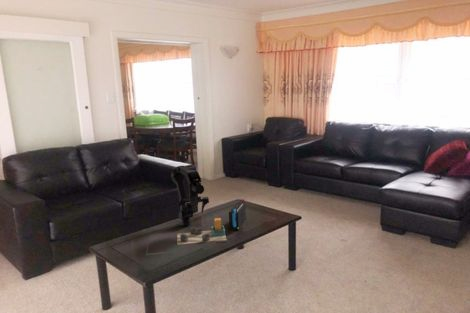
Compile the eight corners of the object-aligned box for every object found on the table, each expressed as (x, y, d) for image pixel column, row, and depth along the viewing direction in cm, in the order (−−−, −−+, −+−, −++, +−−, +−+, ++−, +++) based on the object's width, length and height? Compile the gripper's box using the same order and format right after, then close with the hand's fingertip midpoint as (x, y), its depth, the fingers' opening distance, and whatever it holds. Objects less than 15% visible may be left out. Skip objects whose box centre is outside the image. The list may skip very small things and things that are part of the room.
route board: (177, 235, 237) (176, 227, 236) (223, 230, 241) (223, 223, 240) (177, 246, 220) (176, 238, 220) (226, 241, 225) (226, 233, 224)
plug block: (214, 231, 236) (214, 218, 234) (221, 231, 237) (220, 217, 235) (215, 234, 232) (214, 220, 231) (221, 233, 233) (221, 219, 231)
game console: (237, 232, 238) (236, 210, 235) (227, 231, 239) (226, 210, 237) (247, 217, 264) (246, 198, 262) (238, 217, 266) (238, 197, 263)
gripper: (178, 195, 225) (180, 219, 228) (208, 192, 228) (210, 216, 231) (178, 190, 236) (180, 213, 239) (207, 188, 239) (208, 211, 241)
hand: (194, 213), depth 237 cm, fingers open, 9 cm apart
